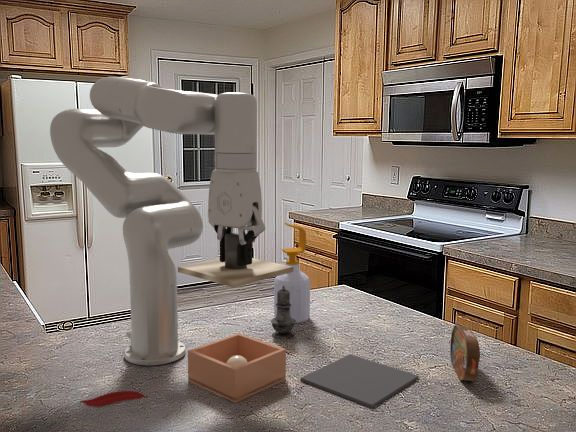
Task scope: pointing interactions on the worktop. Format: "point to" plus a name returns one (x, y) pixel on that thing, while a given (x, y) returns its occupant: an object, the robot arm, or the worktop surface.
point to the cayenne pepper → (113, 398)
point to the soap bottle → (295, 282)
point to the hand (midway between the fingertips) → (235, 261)
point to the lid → (234, 267)
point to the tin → (464, 353)
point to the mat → (360, 380)
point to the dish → (236, 366)
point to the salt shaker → (283, 317)
